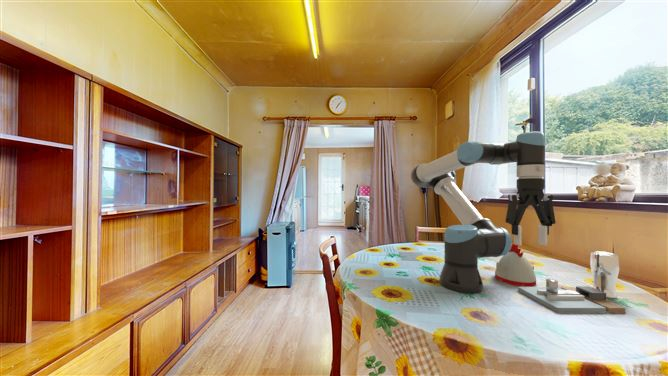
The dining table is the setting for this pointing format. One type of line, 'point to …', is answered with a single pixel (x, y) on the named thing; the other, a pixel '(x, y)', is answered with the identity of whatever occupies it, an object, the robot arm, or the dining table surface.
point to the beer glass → (605, 272)
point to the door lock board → (573, 300)
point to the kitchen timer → (515, 269)
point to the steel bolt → (556, 289)
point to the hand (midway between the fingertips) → (530, 244)
